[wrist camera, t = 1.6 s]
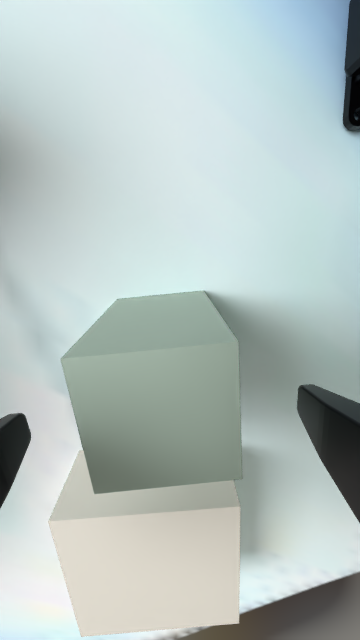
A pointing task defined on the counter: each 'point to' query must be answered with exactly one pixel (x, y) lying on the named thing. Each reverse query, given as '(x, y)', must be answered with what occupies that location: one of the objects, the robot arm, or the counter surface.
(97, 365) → the sage block
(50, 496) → the counter surface
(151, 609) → the cream block
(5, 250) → the counter surface
